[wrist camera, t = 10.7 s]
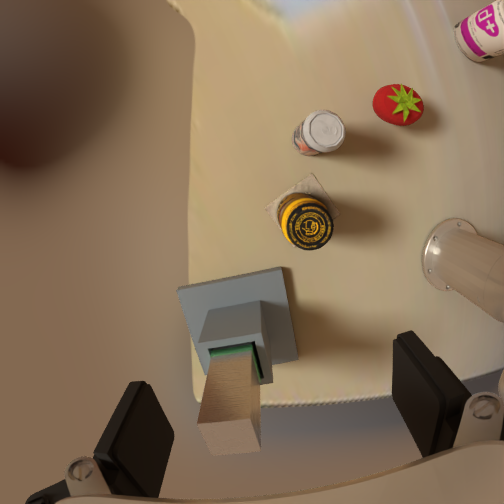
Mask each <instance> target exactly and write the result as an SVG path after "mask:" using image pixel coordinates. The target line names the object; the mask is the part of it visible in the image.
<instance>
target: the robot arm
mask: <svg viewBox="0 0 504 504" xmlns="http://www.w3.org/2000/svg"><path fill="white" fill-rule="evenodd" d="M433 237H434V238H433ZM422 266H423V271H424V274H425V277H426V278H427V280H428V281H429V283H430V284H431V285H433V286H434V287H435V288H437V289H439V290H443V291H451V290H456V291H457V292H459V293H460V294H461V295H463V296H464V297H466V298H467V299H468V300H470V301H471V302H473V303H474V304H475V305H477V306H478V307H480V308H481V309H482V310H484V311H485V312H486V313H488V314H489V315H490V316H492V317H493V318H494V319H496V320H498V321H500V322H503V323H504V245H502V244H499V243H497V242H494V241H491V240H489V239H486V238H484V237H481V236H478V235H477V233H476V231H475V229H474V228H473V227H472V225H470V224H469V223H468V222H466V221H464V220H461V219H456V218H452V219H447V220H445V221H443V222H441V223H440V224H439V225H437V226H436V227H435V228H434V229H433V231H432V232H431V234H430V235H429V237H428V239H427V241H426V243H425V246H424V249H423V255H422ZM498 388H499V394H500V397H501V398H500V397H499V396H498V395H496V394H494V393H491V392H480V393H477V394H474V395H473V396H472V395H471V393H470V392H469V391H468V390H467V389H466V388H465V386H464V385H463V384H462V383H461V381H460V380H459V379H458V378H457V377H456V375H455V374H454V373H453V372H452V371H451V369H450V368H449V367H448V366H447V365H446V364H445V362H444V361H443V360H442V359H441V358H440V357H437V356H436V357H435V356H434V355H433V354H432V352H431V351H430V350H429V349H428V348H427V347H426V345H425V344H424V343H423V342H422V341H421V340H420V339H419V337H418V336H417V335H416V334H415V333H414V332H413V331H408V332H404V333H401V334H398V335H397V339H394V340H393V376H392V397H393V400H394V402H395V404H396V406H397V408H398V410H399V411H400V413H401V415H402V417H403V419H404V421H405V423H406V425H407V427H408V429H409V430H410V433H411V435H412V437H413V438H414V441H415V443H416V444H417V446H418V448H419V450H420V452H421V454H422V457H423V458H421V459H419V460H416V461H413V462H410V463H407V464H404V465H402V466H398V467H395V468H392V469H389V470H385V471H382V472H379V473H375V474H372V475H368V476H365V477H361V478H357V479H353V480H349V481H345V482H341V483H336V484H332V485H327V486H323V487H317V488H312V489H306V490H300V491H294V492H288V493H281V494H272V495H263V496H254V497H241V498H224V499H223V498H222V499H167V498H158V497H159V493H160V489H161V485H162V482H163V478H164V474H165V470H166V466H167V463H168V459H169V456H170V452H171V448H172V444H173V441H174V431H173V429H172V427H171V425H170V423H169V421H168V420H167V417H166V415H165V414H164V412H163V410H162V408H161V406H160V404H159V402H158V400H157V397H156V395H155V393H154V391H153V389H152V387H151V386H150V385H149V384H147V383H146V382H145V381H135V382H130V383H129V385H128V387H127V388H126V390H125V392H124V394H123V396H122V398H121V400H120V402H119V404H118V405H117V408H116V409H115V411H114V413H113V415H112V417H111V419H110V421H109V423H108V425H107V427H106V428H105V430H104V433H103V434H102V436H101V438H100V440H99V442H98V444H97V446H96V448H95V450H94V457H93V459H92V458H91V457H86V456H85V457H79V458H76V459H74V460H72V461H71V462H70V463H69V464H68V465H67V467H66V469H65V471H64V475H65V479H64V480H62V481H60V482H58V483H56V484H54V485H52V486H50V487H47V488H45V489H43V490H41V491H39V492H36V493H34V494H33V495H31V496H30V497H29V498H28V499H27V501H26V503H25V504H504V370H503V372H502V375H501V377H500V381H499V386H498Z"/></svg>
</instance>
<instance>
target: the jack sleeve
mask: <svg viewBox="0 0 504 504" xmlns="http://www.w3.org/2000/svg"><path fill="white" fill-rule="evenodd" d="M176 291H177V294H178V297H179V300H180V303H181V307H182V310H183V313H184V316H185V319H186V322H187V325H188V328H189V331H190V334H191V337H192V340H193V343H194V346H195V349H196V352H197V354H198V357H199V360H200V363H201V366H202V368H203V371H204V374H205V375H207V374H208V369H209V365H210V360H211V356H210V355H211V351H213V348H216V347H222V346H228V345H234V344H240V343H246V342H252V341H255V344H256V348H257V352H258V356H259V360H260V376H261V382H260V385H263V384H269V383H273V373H272V365H274V364H280V363H285V362H290V361H295V360H299V359H298V353H297V348H296V342H295V337H294V331H293V326H292V321H291V316H290V310H289V305H288V300H287V295H286V290H285V284H284V279H283V274H282V269H281V267H276V268H271V269H267V270H262V271H257V272H252V273H247V274H242V275H237V276H232V277H227V278H222V279H217V280H212V281H207V282H202V283H197V284H191V285H186V286H181V287H178V289H177V290H176Z"/></svg>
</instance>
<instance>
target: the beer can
mask: <svg viewBox="0 0 504 504" xmlns="http://www.w3.org/2000/svg"><path fill="white" fill-rule="evenodd" d="M345 134H346V132H345V126H344V123H343V121H342V120H341V118H340V117H339V116H338V115H337V114H335V113H333V112H331V111H328V110H318V111H315V112H313V113H311V114H310V115H309V116H308V117H307V118H306V119H305V120H304V121H303V122H302V123H301V124H300V125H299V126H298V127H297V128H296V129H295V130H294V132H293V135H292V143H293V146H294V147H295V149H296V150H297V151H298V152H299V153H301V154H303V155H306V156H313V155H316V154H318V153H322V152H330V151H334V150H336V149H337V148H339V147H340V146H341V144H342V143H343V141H344V139H345Z"/></svg>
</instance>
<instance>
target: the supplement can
mask: <svg viewBox="0 0 504 504" xmlns="http://www.w3.org/2000/svg"><path fill="white" fill-rule="evenodd" d="M454 37H455V40H456V43H457V45H458V47H459V48H460V50H461V51H462V52H463V53H464V54H465V55H466V56H467V57H468V58H470V59H471V60H473V61H476V62H482V61H485V60H488V59H490V58H493V57H496V56H499V55H501V54H504V0H497V1H495V2H493V3H491V4H490V5H488V6H486V7H484V8H483V9H481V10H479V11H477V12H476V13H474V14H472V15H471V16H469V17H467V18H466V19H464V20H462V21H461V22H459V23H458V24H456V25H455V28H454Z"/></svg>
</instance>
